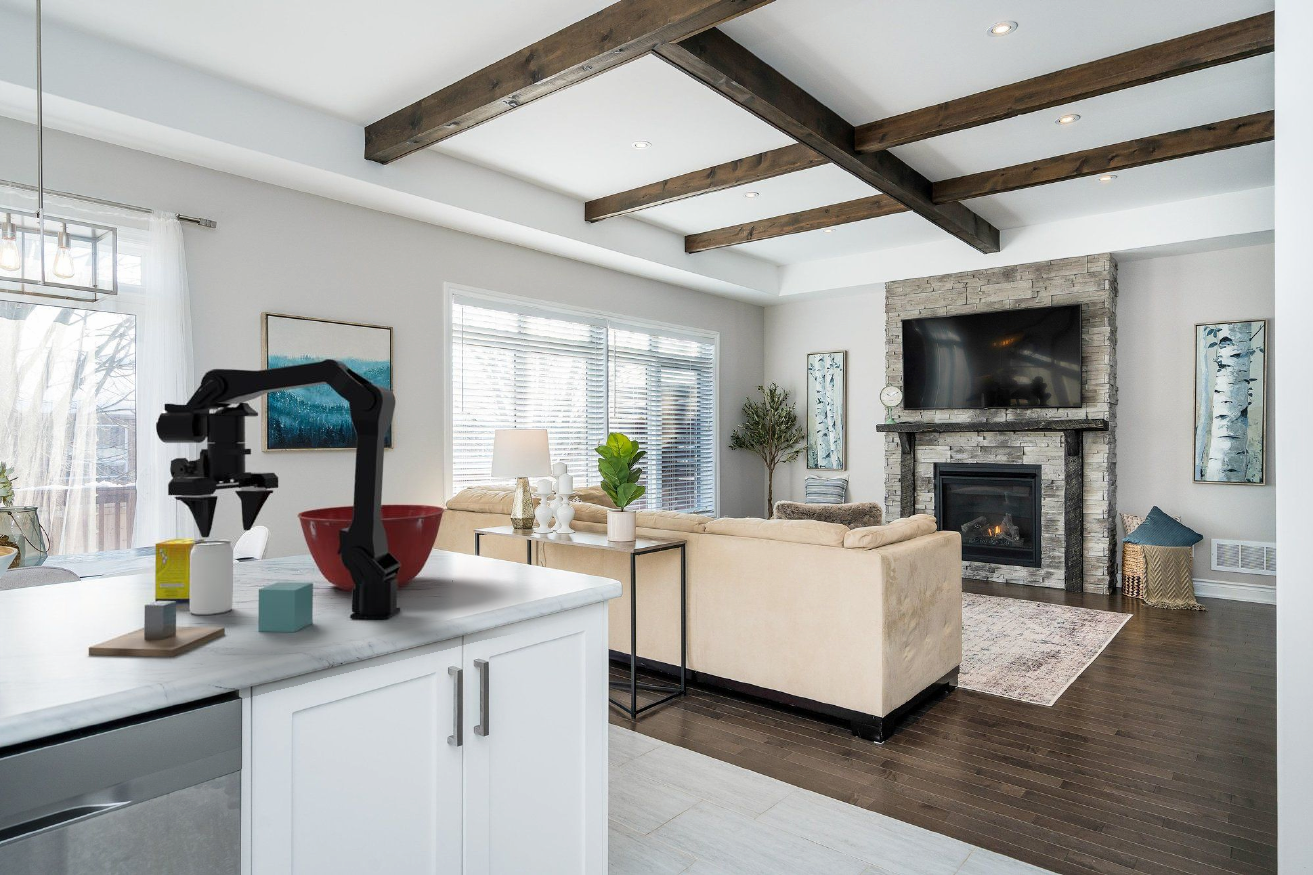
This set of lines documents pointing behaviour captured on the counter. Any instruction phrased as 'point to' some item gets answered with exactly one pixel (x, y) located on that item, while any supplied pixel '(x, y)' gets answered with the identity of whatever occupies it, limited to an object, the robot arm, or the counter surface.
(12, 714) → the counter surface
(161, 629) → the post
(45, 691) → the counter surface
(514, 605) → the counter surface
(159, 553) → the supplement box
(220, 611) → the can
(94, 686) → the counter surface
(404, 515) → the mixing bowl
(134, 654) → the base board
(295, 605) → the teal cube
